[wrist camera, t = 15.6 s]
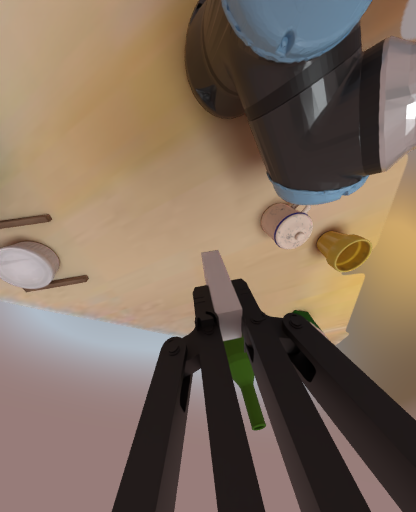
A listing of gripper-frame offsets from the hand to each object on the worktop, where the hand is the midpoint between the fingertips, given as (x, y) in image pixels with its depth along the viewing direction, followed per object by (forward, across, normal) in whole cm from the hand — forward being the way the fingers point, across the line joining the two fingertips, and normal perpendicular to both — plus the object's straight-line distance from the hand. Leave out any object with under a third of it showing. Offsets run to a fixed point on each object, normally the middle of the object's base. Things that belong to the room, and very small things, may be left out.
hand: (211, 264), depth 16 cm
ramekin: (+30, -39, -11) cm, 50 cm away
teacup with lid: (+30, +23, -9) cm, 39 cm away
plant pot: (+30, +40, -20) cm, 54 cm away
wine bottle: (+30, +6, -41) cm, 51 cm away
